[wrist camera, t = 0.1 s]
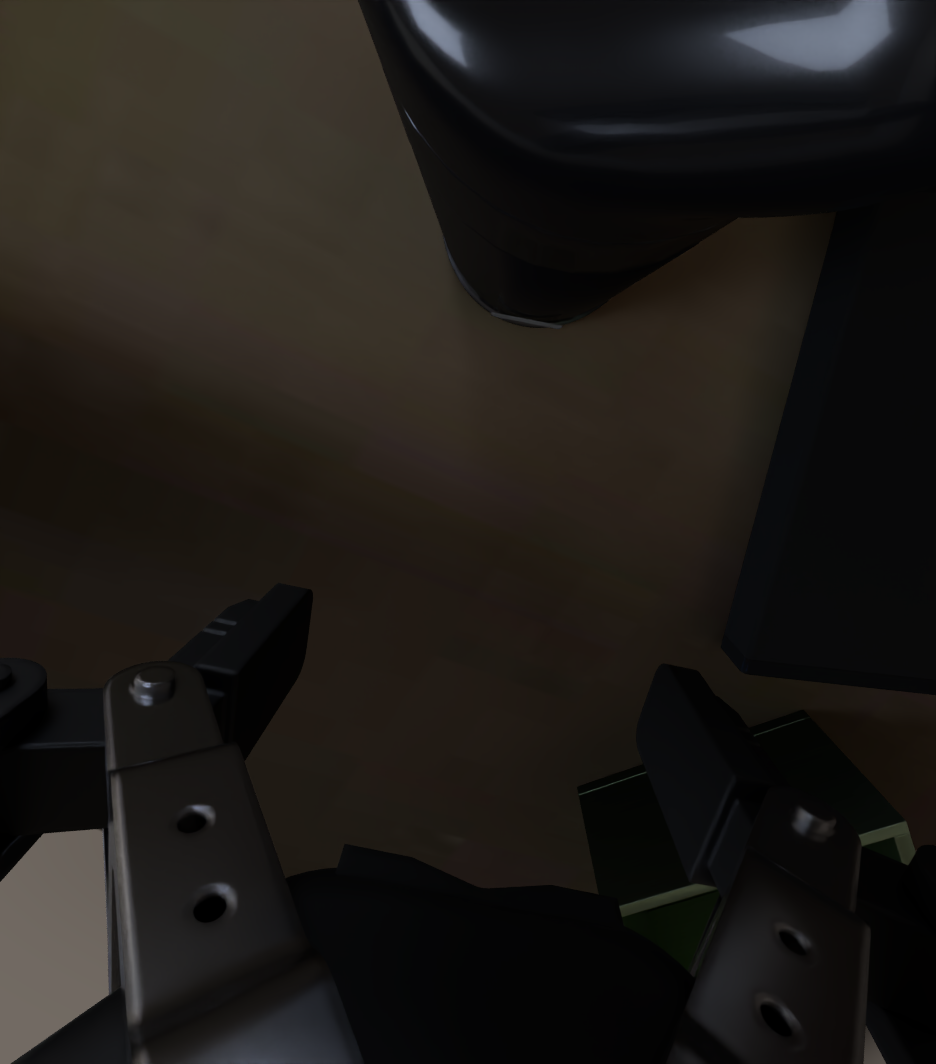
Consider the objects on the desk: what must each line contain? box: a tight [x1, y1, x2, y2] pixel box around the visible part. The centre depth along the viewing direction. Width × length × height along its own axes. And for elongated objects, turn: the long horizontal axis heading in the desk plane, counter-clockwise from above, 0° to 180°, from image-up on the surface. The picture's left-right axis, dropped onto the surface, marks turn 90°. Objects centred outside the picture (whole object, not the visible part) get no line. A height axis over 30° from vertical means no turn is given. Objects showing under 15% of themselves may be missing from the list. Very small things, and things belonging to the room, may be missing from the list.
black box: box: [577, 710, 916, 970], centre depth 30 cm, size 14×11×8 cm
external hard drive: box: [721, 187, 936, 695], centre depth 26 cm, size 14×23×3 cm, turn 174°
